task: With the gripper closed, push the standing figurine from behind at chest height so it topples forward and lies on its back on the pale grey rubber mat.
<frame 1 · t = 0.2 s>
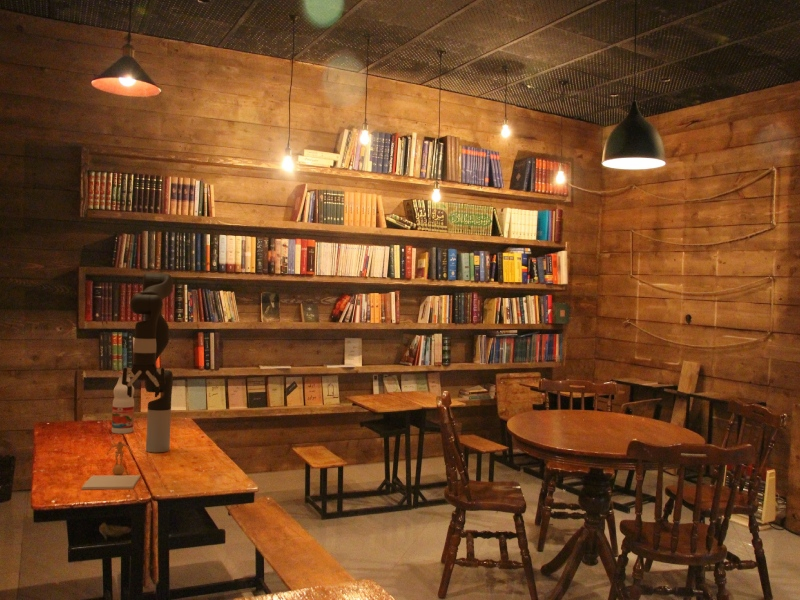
hand: (143, 396, 252), 28 cm above the table, fingers open, 8 cm apart
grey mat: (111, 483, 243), on the table
figurine: (118, 475, 254), on the table
fruit juice: (122, 432, 330), on the table
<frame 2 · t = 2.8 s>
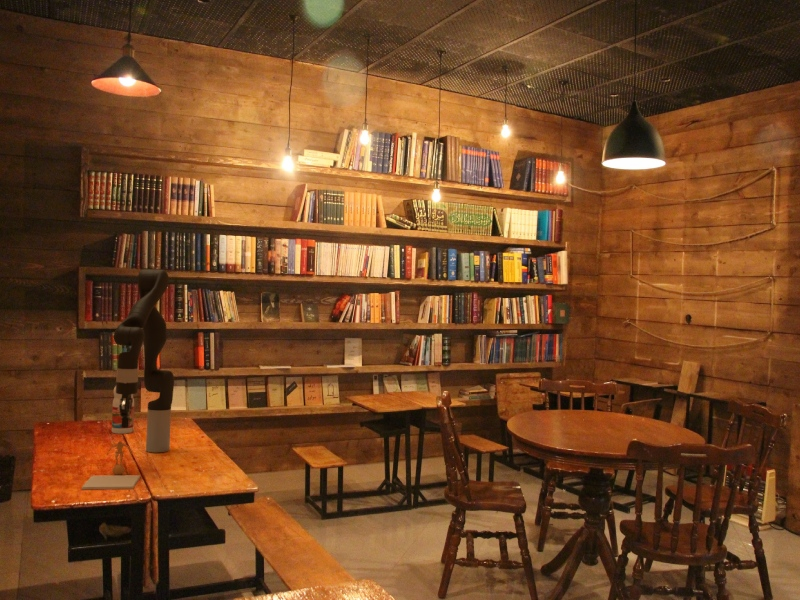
hand: (125, 427, 264), 15 cm above the table, fingers closed
nothing on the table moved.
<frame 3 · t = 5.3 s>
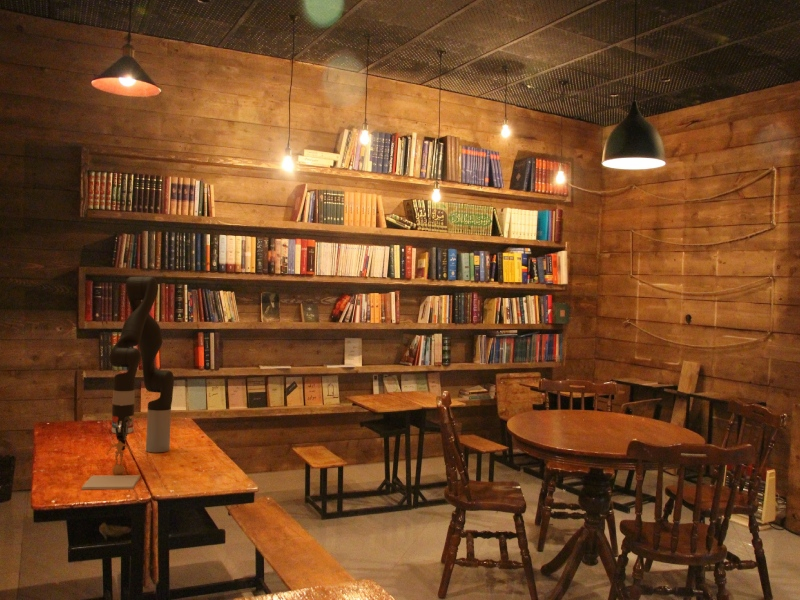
hand: (121, 450, 259), 8 cm above the table, fingers closed
figurine: (118, 475, 254), on the table, touching gripper
everything else where it was.
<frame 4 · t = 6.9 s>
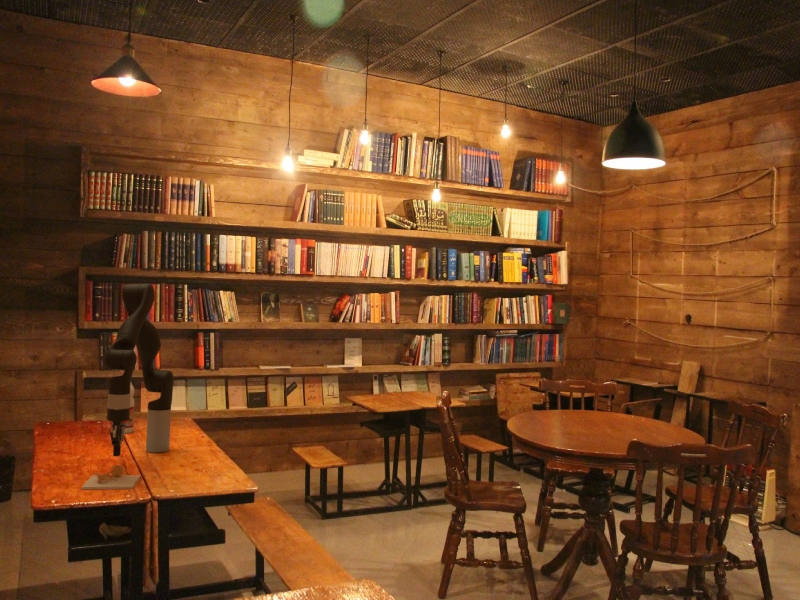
hand: (116, 455, 250), 8 cm above the table, fingers closed
figurine: (121, 465, 250), point 4 cm above the table, touching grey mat
everything else where it was.
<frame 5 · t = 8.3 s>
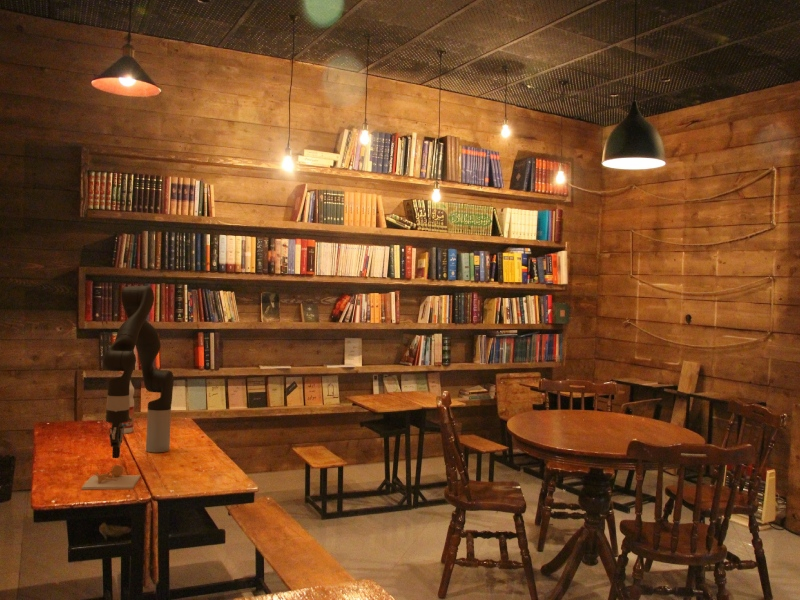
hand: (115, 457, 248), 8 cm above the table, fingers closed
nothing on the table moved.
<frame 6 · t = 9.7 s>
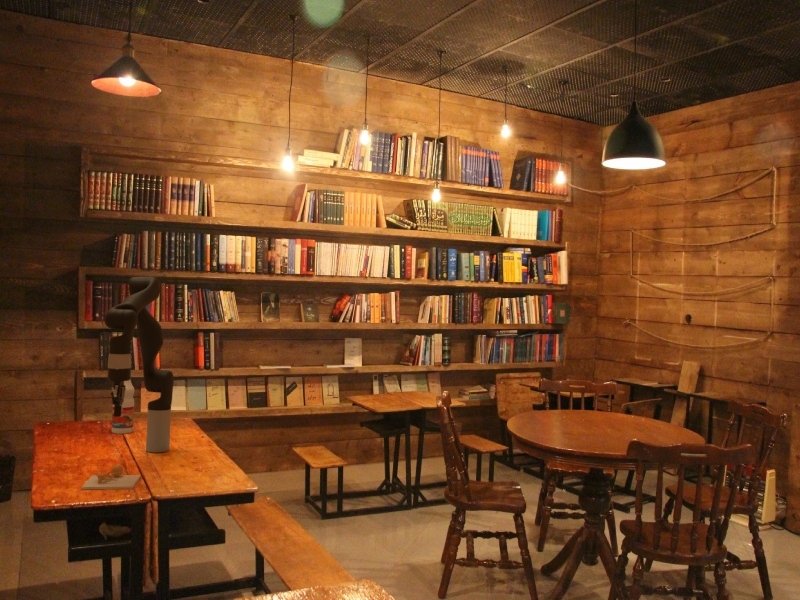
hand: (117, 416, 248), 22 cm above the table, fingers closed
nothing on the table moved.
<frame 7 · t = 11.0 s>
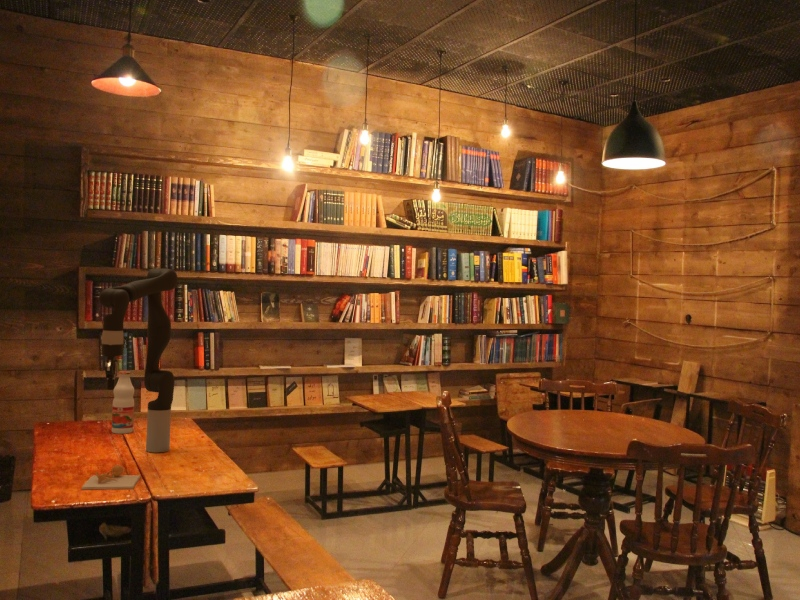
hand: (110, 389, 265), 29 cm above the table, fingers closed
nothing on the table moved.
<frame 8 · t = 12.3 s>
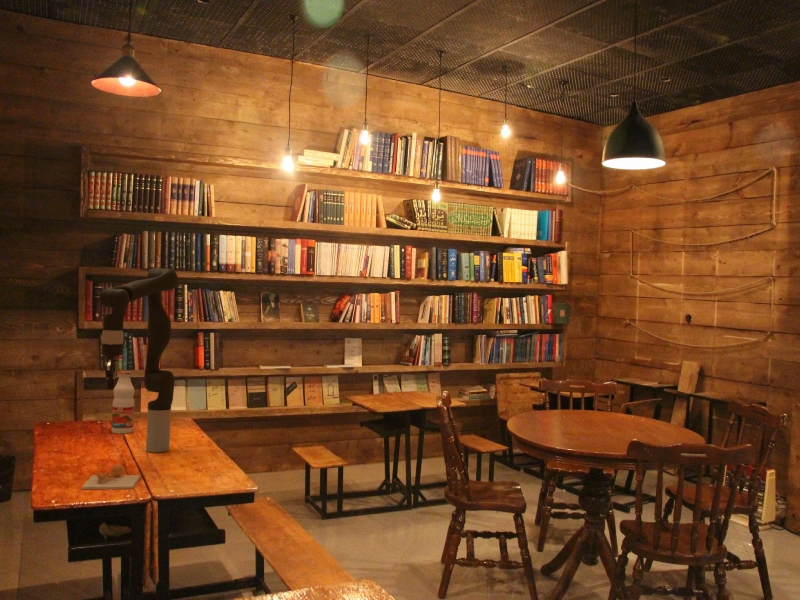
hand: (110, 388, 265), 29 cm above the table, fingers closed
nothing on the table moved.
at the end: figurine tilted 109°; figurine touching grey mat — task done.
